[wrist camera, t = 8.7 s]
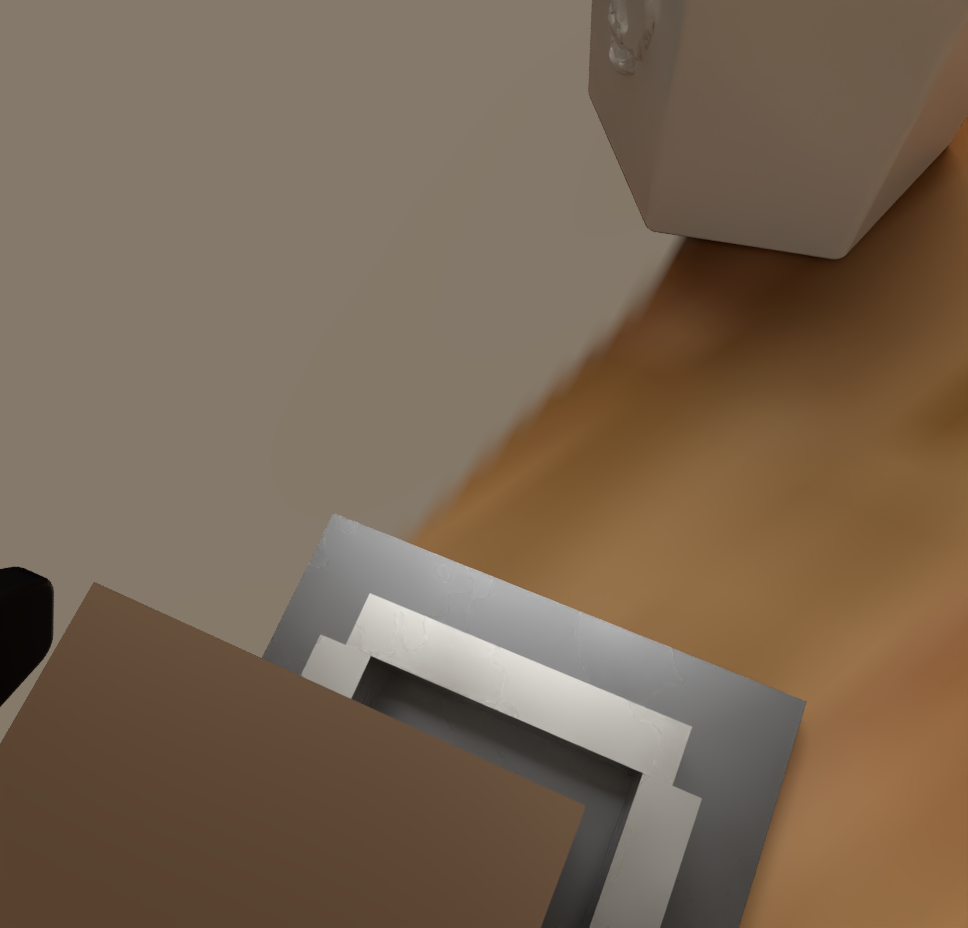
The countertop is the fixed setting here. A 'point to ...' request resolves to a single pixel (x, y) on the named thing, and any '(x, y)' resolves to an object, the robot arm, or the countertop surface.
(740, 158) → the jar
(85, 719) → the walnut stick
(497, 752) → the square frame on plate
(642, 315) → the countertop surface
